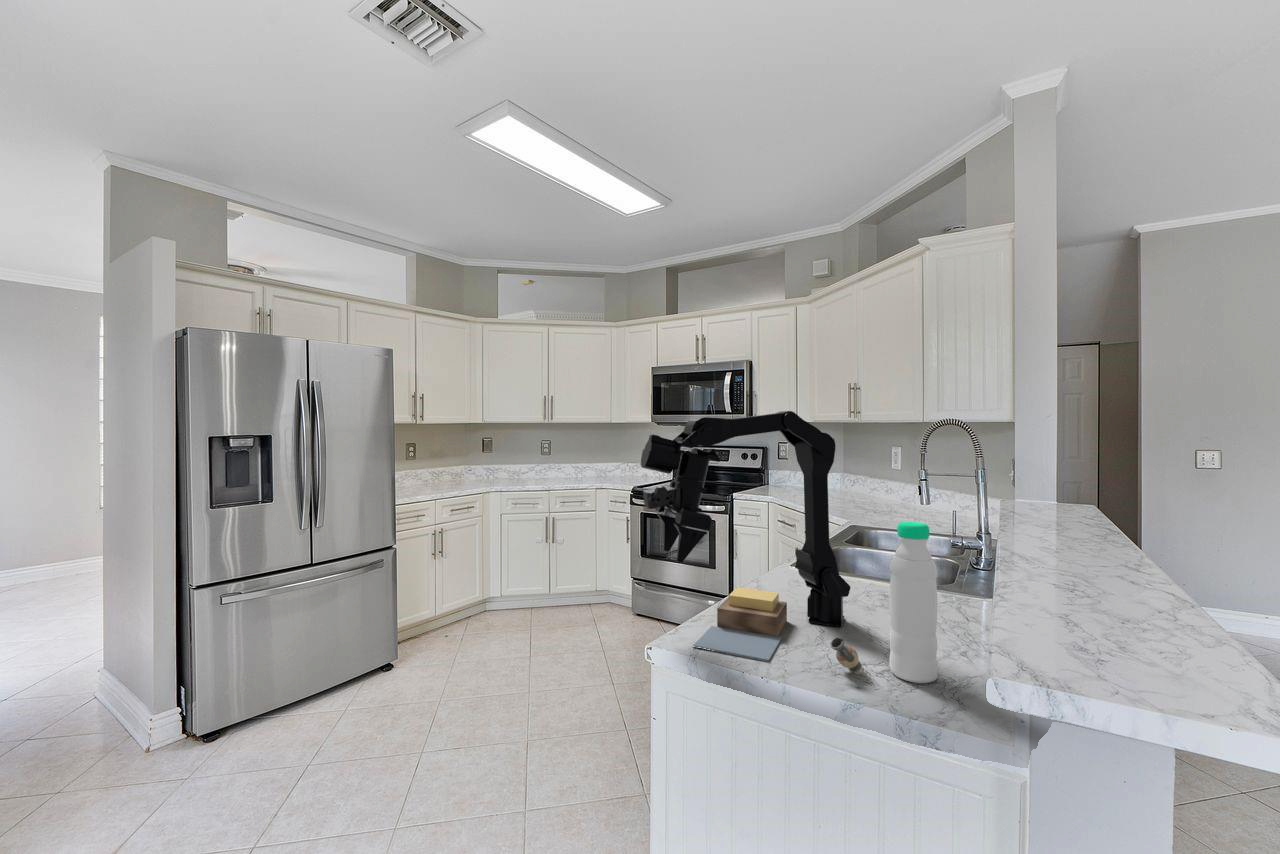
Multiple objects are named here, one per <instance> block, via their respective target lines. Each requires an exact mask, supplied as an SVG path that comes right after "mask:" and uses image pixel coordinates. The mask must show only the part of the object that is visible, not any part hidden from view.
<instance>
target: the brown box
mask: <svg viewBox="0 0 1280 854" xmlns="http://www.w3.org/2000/svg"><path fill="white" fill-rule="evenodd" d="M787 604H788V602H787V601H780V600H779V603H778V604H777V606H776V607H775V608H774V610H773V611H767V610H760V609H753V608H746V607H740V606H733V605H729V596H728V597H727V598H726V599H725V600H724V601H723V602H722V603H721V604H719V606H718V607H717V608H716V610H717V612H716V620H717V621H716V622H717V625H716V627H721V628H727V629H733V630H739V631H745V632H751V633H757V634H763V635H769V636H775V637H779V635H780V633H781V632H782V630H783V629H784V627H785V625H786V623H787V621H788V605H787Z"/></svg>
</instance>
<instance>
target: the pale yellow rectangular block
mask: <svg viewBox="0 0 1280 854" xmlns="http://www.w3.org/2000/svg"><path fill="white" fill-rule="evenodd" d="M728 597H729V605H733V606H740V607H746V608H753V609H760V610H767V611H773V610H774V608H775V607H776V606H777V604H778V603H779V601H780V600H779V599H780V598H779V597H780V596H779V592H774V591H765V590H758V589H751V588H741V587H736V588H735V589H733V591H732V592H731V593H729V594H728Z"/></svg>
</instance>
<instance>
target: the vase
mask: <svg viewBox="0 0 1280 854" xmlns="http://www.w3.org/2000/svg"><path fill="white" fill-rule="evenodd" d="M829 646H830V648H831V649H832V650H834V651H836V652H835V653H836V654H835V657H836V660H837V662H838V663H839V664H840V666H842V667H844V668H846V669H848V670H849V672H851V673H853V674H856V675H858V674H859V675H860V676H859V677H860V678H861V677H863V678H866V676H869V677H871V674H870V672H869V671H868V670H867V669H865V668H864V666H863V665H862V663H861V662H860V660H859V654H858V652H857V651H856V649H855V648H854V647H853V646H852V645H848V644H845V641H844V639H842V638H840V637H834V638H833V639H832V640H830V645H829Z"/></svg>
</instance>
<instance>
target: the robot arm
mask: <svg viewBox="0 0 1280 854" xmlns="http://www.w3.org/2000/svg"><path fill="white" fill-rule="evenodd" d="M773 432H779V433H781V435H782V436H783V437H784V438H785V440H786V441H787V442H788V443H789V444H791V446H793V447H794V450H795V457H796V462H797V464H798V465H799V467H800V468H799V469H801V472H802V475H803V495H804V497H803V499H804V505H803V506H804V534H805V535H804V536H805V537H804V538H805V541H804V543H803V546H802V548H801V549H800V548H797V549H795V559H796V561H795V562H796V563H795V568H796V569H797V570H798V574H799V576H800V577H801V578H802V579H803V580H804V583H805V586H806V587H808V588H810V591H809V595H808V597H807V613H806V614H807V616H806V617H807V618H808V623H811V624H816V625H822V626H830V627H835V628H837V627H838V628H842V626H843V623H844V619H845V616H844V598H845V597H846V598H847V597H849V595H850V590H851V586H850V584H849V583H848V582H847V581H846V580H845V579H844V578H843V577H842V576H841V575H840V572H839V566H838V560H837V559H838V558H837V557H836V555H835V552H834V551H833V548H832V546H831V543H830V520H829V519H830V518H829V517H830V515H829V487H828V486H829V479H828V477H829V473H830V470H831V469H832V467H833V465H834V462H835V455H836V448H837V447H836V441H835V438H834V437H832V436H831V434H829V433H827V432H822V431H821V430H820V429H819V428H817V427H816V426H815V425H813V424H811V423H809V422H808V421H806V420H804V419H803V418H801V416H799V415H798V414H797V413H796V412H794V411H792V410H784V411H778V412H775V413H768V414H760V415H751V416H750V415H749V416H744V417H737V418H724V417H710V416H706V417H704V416H703V417H693V418H690V419H689V420H688V421H687V422H686V424H684V428H683V430H682V431H681V432H680V433H679V434H678V435H677V436H676V437H674V438H673V439H669V438H665V437H661V436H659V435H657V434H651V433H650V435H648V436H649V437H648V440H647V442H646V443H645V445H644V449H642V453H641V457H640V466H641V468H642V469H646V470H651V471H655V472H659V473H663V474H668V475H669V474H671V473H672V472H673V471H676V470H677V473H676V476H675V479H672V480H671V481H670V483H669V486H667V487H665V486H661V487H658V486H657V487H654V488H649V489H643V490H642V494H643V504H644V507H646V508H647V509H649V510H653V509H654V510H655V511H656V515H657V516H658V518H659V519H660V520H661V522H662V532H663V535H662V536H663V542H662V543H663V551H664V552H666V553H667V552H670V551H671V549H672V548H673V547H674V544H675V543H676V541H677V539H678V542H677V548H676V549H677V550H676V551H677V552H676V562H678V563H683V562H684V561H685V560H686V558H687V557H688V556H689V555H690V553H692V551H694V548H695V547H696V546H697V545H698V543H699V542H700V541H701V540H702V539H703V538H704V536H705V535H706V536H707V534H708V532H712V530H713V529H712V527H713V524H714V521H713V519H712V517H711V516H710V515H709V514H707V513H706V512H703V511H702V508H701V507H700V504H701V501H702V500H701V499H702V495H703V494H706V493H707V487H704V486H705V482H706V479H707V473H708V470H709V465H710V461H711V462H717V463H720V462H721V458H720V457H719V455H718V454H717V452H716V449H715V448H709V449H707V450H704V449H700V448H697V447H711V446H714V445H717V444H721V443H723V442H726V441H727V440H730V439H734V438H735V437H736V438H738V437H743V436H750V435H758V434H766V433H773ZM681 448H689V449H691V450H690V451H686V450H685V451H684V450H681Z"/></svg>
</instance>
